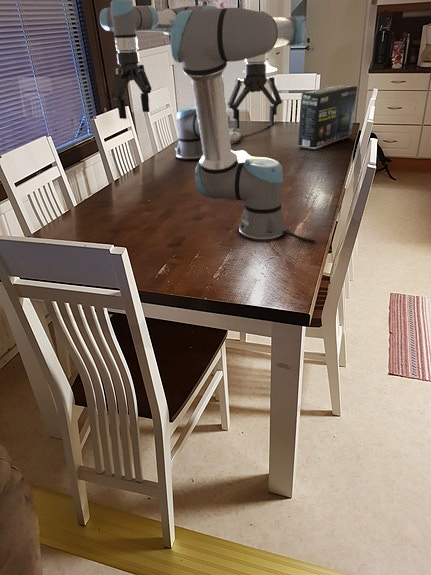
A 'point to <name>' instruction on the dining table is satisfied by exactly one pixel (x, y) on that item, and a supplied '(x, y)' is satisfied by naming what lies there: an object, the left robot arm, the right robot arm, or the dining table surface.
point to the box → (242, 156)
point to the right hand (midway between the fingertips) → (254, 126)
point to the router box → (326, 115)
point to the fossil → (235, 135)
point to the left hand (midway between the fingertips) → (135, 115)
